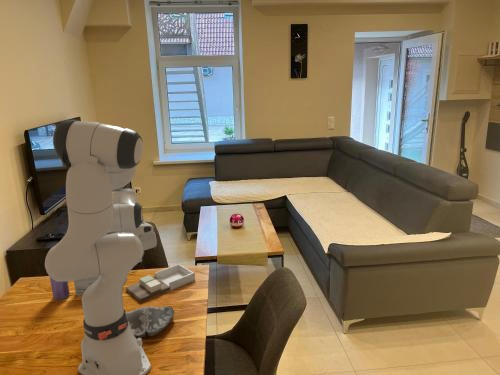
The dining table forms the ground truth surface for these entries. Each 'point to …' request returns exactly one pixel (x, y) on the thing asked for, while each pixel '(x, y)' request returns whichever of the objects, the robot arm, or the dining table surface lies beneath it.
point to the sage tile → (145, 280)
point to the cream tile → (153, 286)
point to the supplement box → (85, 284)
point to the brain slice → (149, 320)
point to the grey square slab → (146, 291)
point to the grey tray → (175, 276)
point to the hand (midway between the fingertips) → (132, 264)
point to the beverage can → (59, 289)
